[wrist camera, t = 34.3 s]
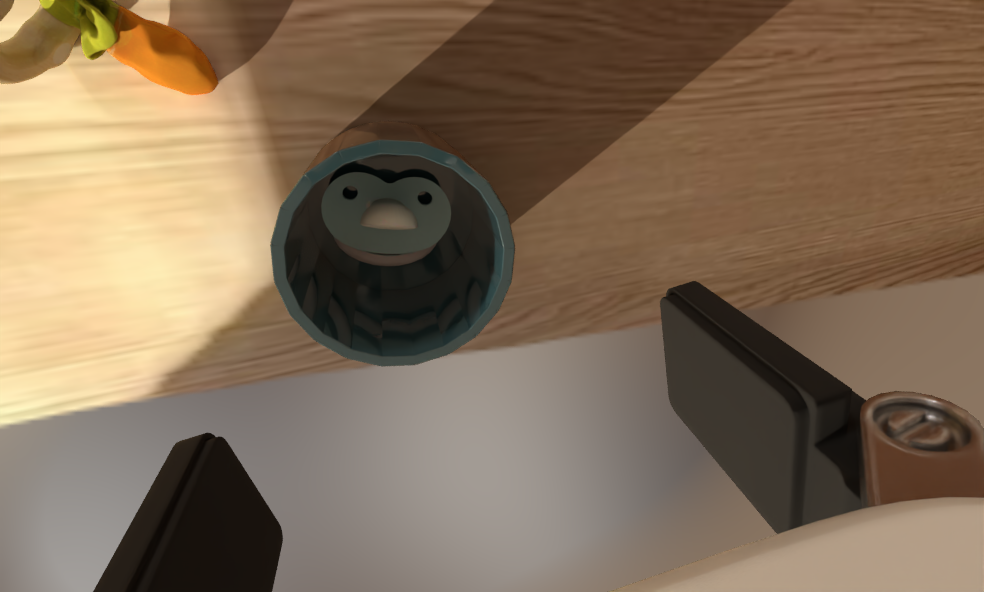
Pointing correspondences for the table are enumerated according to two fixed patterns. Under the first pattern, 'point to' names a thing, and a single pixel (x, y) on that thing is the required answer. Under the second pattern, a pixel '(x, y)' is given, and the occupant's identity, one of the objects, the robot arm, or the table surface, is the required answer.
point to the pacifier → (385, 218)
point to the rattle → (103, 44)
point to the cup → (393, 289)
